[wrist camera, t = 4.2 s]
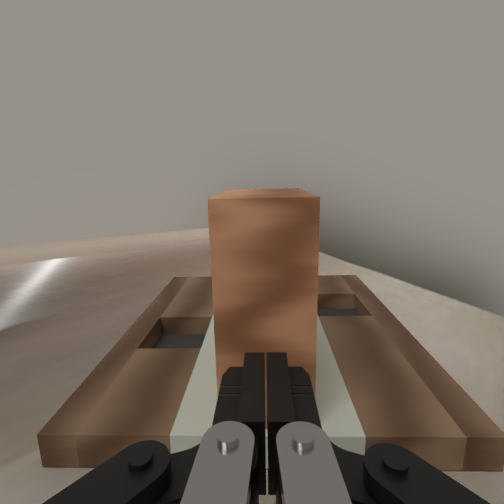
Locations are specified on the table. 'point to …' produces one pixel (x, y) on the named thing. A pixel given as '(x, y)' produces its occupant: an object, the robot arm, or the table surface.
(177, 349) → the lane board
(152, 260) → the table surface
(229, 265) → the block
